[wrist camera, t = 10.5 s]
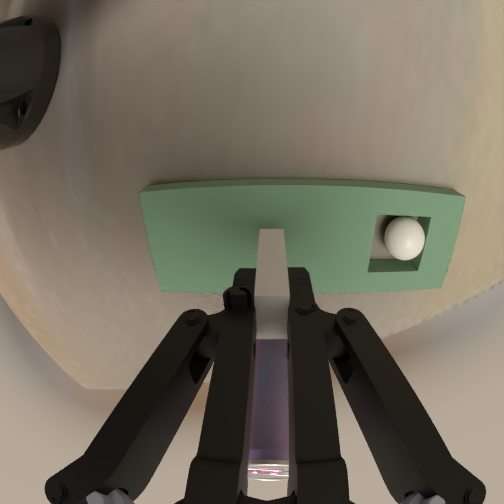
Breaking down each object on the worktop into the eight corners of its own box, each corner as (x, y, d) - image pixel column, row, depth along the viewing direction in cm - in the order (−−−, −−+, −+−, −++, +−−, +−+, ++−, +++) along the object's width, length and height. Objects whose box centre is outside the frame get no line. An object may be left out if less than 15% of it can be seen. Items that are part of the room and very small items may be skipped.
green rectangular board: (167, 278, 25) (160, 291, 23) (149, 185, 20) (138, 192, 19) (432, 276, 22) (440, 287, 21) (453, 189, 18) (465, 196, 16)
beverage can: (248, 306, 26) (228, 460, 12) (309, 313, 25) (325, 463, 12) (243, 346, 28) (226, 477, 15) (296, 352, 28) (300, 481, 15)
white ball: (437, 241, 16) (420, 267, 19) (421, 207, 19) (409, 235, 21) (398, 242, 17) (384, 269, 20) (385, 206, 19) (375, 235, 22)
